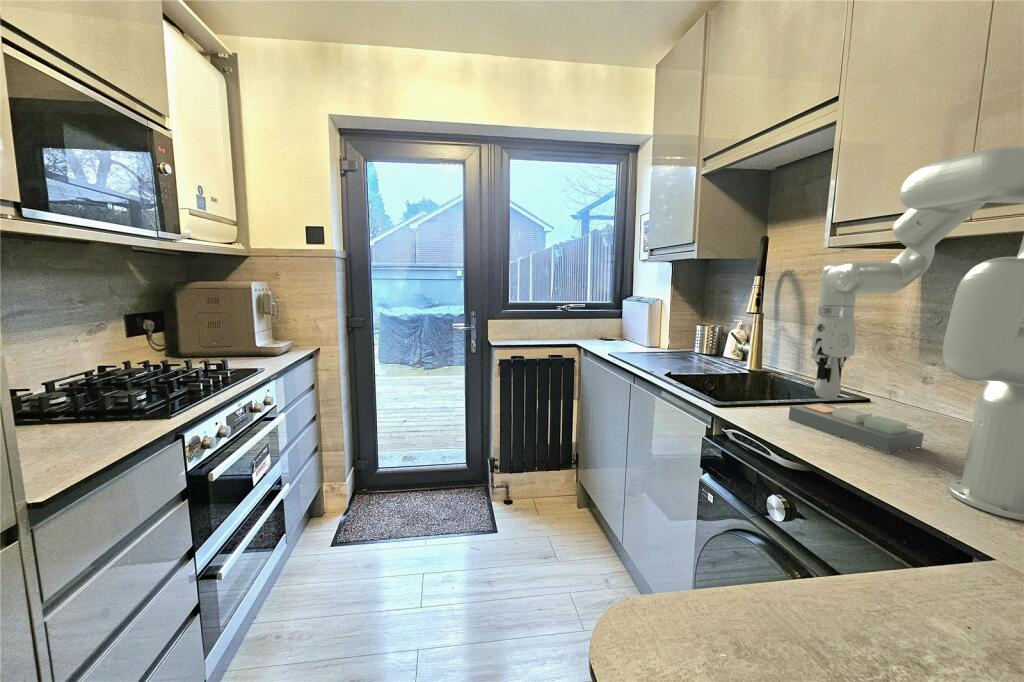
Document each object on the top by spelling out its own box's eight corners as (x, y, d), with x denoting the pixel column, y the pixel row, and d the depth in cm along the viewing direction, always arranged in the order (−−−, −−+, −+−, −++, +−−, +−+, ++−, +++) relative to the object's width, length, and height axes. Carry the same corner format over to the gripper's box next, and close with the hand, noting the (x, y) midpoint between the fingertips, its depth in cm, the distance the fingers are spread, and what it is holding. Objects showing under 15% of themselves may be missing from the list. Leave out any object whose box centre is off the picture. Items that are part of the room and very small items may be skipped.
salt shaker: (839, 400, 110) (845, 350, 108) (812, 397, 113) (817, 348, 112) (839, 396, 115) (845, 348, 113) (813, 393, 118) (818, 346, 117)
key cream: (869, 427, 107) (871, 413, 106) (854, 429, 105) (856, 415, 105) (846, 420, 112) (848, 406, 112) (831, 422, 111) (833, 408, 110)
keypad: (921, 447, 100) (923, 433, 99) (886, 453, 96) (889, 438, 95) (819, 415, 122) (821, 403, 122) (788, 418, 118) (790, 406, 118)
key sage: (905, 438, 100) (907, 423, 99) (888, 440, 98) (891, 425, 98) (878, 429, 105) (880, 415, 105) (862, 432, 104) (864, 417, 103)
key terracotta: (838, 423, 114) (840, 410, 114) (823, 425, 113) (824, 412, 112) (817, 417, 120) (819, 404, 119) (802, 418, 118) (804, 406, 117)
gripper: (827, 313, 105) (819, 386, 107) (873, 313, 110) (864, 383, 113) (798, 312, 112) (792, 380, 114) (842, 311, 117) (835, 377, 120)
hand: (828, 381), depth 113 cm, fingers closed on salt shaker, 3 cm apart
